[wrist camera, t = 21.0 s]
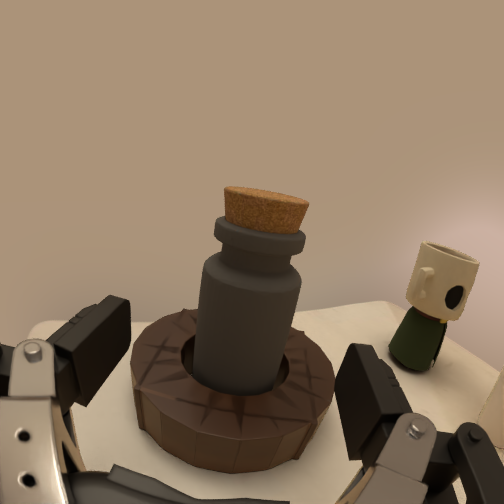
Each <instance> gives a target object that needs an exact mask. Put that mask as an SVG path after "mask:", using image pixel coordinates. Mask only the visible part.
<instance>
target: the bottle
mask: <svg viewBox="0 0 504 504" xmlns="http://www.w3.org/2000/svg"><path fill="white" fill-rule="evenodd" d="M224 197H225V216H223V217H220V218H217V219H216V222H215V229H214V236H215V237H216V239H217V240H219V241H220V242H222V243H223V245H222V251H221V252H218V253H216V254H214V255H212V256H211V257H209V258H208V259H207V260H206V261H205V263H204V267H203V272H202V279H201V287H200V295H199V305H198V314H197V325H196V336H195V347H194V359H193V374H192V377H193V378H194V379H195V380H196V381H197V382H199V383H200V384H201V385H203V386H205V387H208V388H210V389H212V390H214V391H216V392H219V393H224V394H229V395H235V396H254V395H260V394H263V393H266V392H269V391H272V390H273V387H274V383H275V380H276V377H277V374H278V370H279V367H280V364H281V360H282V357H283V353H284V350H285V346H286V343H287V339H288V335H289V332H290V328H291V324H292V320H293V316H294V313H295V308H296V305H297V301H298V296H299V292H300V288H301V277H300V275H299V273H298V272H297V270H296V269H294V267H293V266H292V265H291V264H290V260H291V256H292V255H297V254H299V253H301V252H302V250H303V248H304V244H305V239H306V236H305V234H304V233H303V232H302V231H300V230H299V227H300V225H301V223H302V220H303V218H304V216H305V213H306V211H307V208H308V206H309V202H307V201H305V200H303V199H300V198H297V197H293V196H289V195H285V194H280V193H275V192H270V191H265V190H259V189H252V188H244V187H225V188H224Z"/></svg>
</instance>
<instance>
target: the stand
mask: <svg viewBox="0 0 504 504" xmlns="http://www.w3.org/2000/svg"><path fill="white" fill-rule="evenodd" d="M197 314H198V309H194V310H187V309H183V310H182V311H181V312H178V313H174V314H171V315H167V316H164V317H162V318H161V319H159V320H157V321H156V322H154V323H152V324H151V325H149V326H147V327H146V328H145V329H144V330H143V332H142V333H141V334H140V336H139V337H138V338H137V340H136V341H135V342H134V344H133V350H132V355H131V361H130V367H131V377H132V386H133V394H134V402H135V406H136V411H137V418H138V424H139V428H141V429H144V430H146V431H147V432H148V433H149V434H150V435H151V436H152V437H153V439H154V440H155V441H156V442H157V443H158V444H159V445H160V446H161V447H162V448H163V449H164V450H166V451H167V452H169V453H171V454H173V455H174V456H176V457H178V458H180V459H182V460H184V461H185V462H187V463H189V464H191V465H193V466H196V467H200V468H205V469H209V470H214V471H220V472H225V473H243V472H253V471H261V470H267V469H270V468H272V467H274V466H277V465H279V464H281V463H283V462H285V461H287V460H289V459H299V458H300V456H301V454H302V452H303V451H304V449H305V447H306V445H307V444H308V443H309V442H310V441H311V439H312V438H313V436H314V435H315V433H316V431H317V429H318V427H319V425H320V424H321V422H322V420H323V418H324V416H325V414H326V412H327V410H328V408H329V406H330V404H331V402H332V398H333V394H334V384H335V375H334V371H333V367H332V363H331V362H330V360H329V359H328V358H327V356H326V355H325V353H324V352H323V351H322V349H321V348H320V347H319V346H318V345H317V344H316V343H315V342H313V341H312V340H311V339H310V338H308V337H307V336H306V335H305V333H304V331H298V330H296V329H294V328H292V327H291V328H290V332H289V335H288V339H287V343H286V346H285V350H284V353H283V357H282V360H281V364H280V367H279V370H278V374H277V377H276V380H275V383H274V387H273V390H272V391H269V392H266V393H263V394H260V395H254V396H235V395H229V394H224V393H219V392H216V391H214V390H212V389H210V388H208V387H205V386H203V385H201V384H200V383H199V382H197V381H196V380H195V379H194V378H193V377H191V376H190V374H191V373H193V359H194V347H195V336H196V325H197Z"/></svg>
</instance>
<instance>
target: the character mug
mask: <svg viewBox="0 0 504 504" xmlns="http://www.w3.org/2000/svg"><path fill="white" fill-rule="evenodd" d="M478 267H479V262H478V261H477V260H475V259H474V258H472V257H470V256H468V255H466V254H464V253H462V252H459V251H457V250H454V249H451V248H448V247H446V246H443V245H439V244H436V243H432V242H428V241H423V242H422V243H421V246H420V250H419V254H418V257H417V261H416V264H415V267H414V270H413V273H412V276H411V279H410V282H409V285H408V288H407V293H406V299H407V300H408V302H409V303H410V304H411V305H413V306H412V307H411V308H410V309H409V310H408V312H407V313H406V315H405V317H404V319H403V321H402V322H401V324H400V326H399V328H398V329H397V331H396V333H395V335H394V336H393V338H392V340H391V342H390V344H389V346H388V347H389V349H390V352H391V353H392V354H393V355H394V356H395V357H396V358H397V359H398V360H399V361H400V362H401V363H402V364H404V365H405V366H406V367H408V368H411V369H414V370H423V371H426V370H428V368H429V366H430V364H431V362H432V360H434V363H433V366H434V364H435V361H436V359H437V356H438V354H439V351H440V348H441V345H442V342H443V339H444V336H445V332H446V329H447V321H448V320H452V321H455V320H458V319H459V317H460V316H461V314H462V312H463V310H464V307H465V303H466V301H467V298H468V295H469V293H470V291H471V289H472V286H473V284H474V281H475V277H476V274H477V271H478ZM433 366H432V367H433Z"/></svg>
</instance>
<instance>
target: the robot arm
mask: <svg viewBox="0 0 504 504" xmlns="http://www.w3.org/2000/svg"><path fill="white" fill-rule="evenodd" d="M130 342H131V310H130V302H129V300H127V299H123V298H119V297H116V296H112V295H109V296H107V297H106V298H105V299H104V300H102V301H101V302H100V303H99V304H98V305H97V304H94V305H91V306H89V307H86V308H84V309H82V310H81V311H80V312H79V313H78V314H76V315H75V317H73V318H72V319H70V320H69V322H67V323H65V324H64V325H63V326H62V327H61V328H59V329H58V330H57V331H56V332H55V333H54V334H52V335H51V336H50V337H49V338H48V339H47V340H46V341H45V340H42V339H28V340H25V341H23V342H21V343H19V344H18V345H17V346H16V347H11V346H6V345H3V344H0V504H290V501H274V500H261V499H251V498H236V499H196V498H193V497H191V496H188V495H186V494H184V493H182V492H180V491H178V490H176V489H174V488H172V487H170V486H168V485H166V484H164V483H162V482H160V481H159V480H157V479H155V478H152V477H149V476H146V475H143V474H140V473H137V472H134V471H132V470H129V469H126V468H124V467H121V466H118V465H116V464H114V465H113V467H112V469H111V471H110V473H109V472H101V471H87V470H86V468H85V465H84V463H83V460H82V457H81V454H80V450H79V446H78V441H77V436H76V431H75V426H74V421H73V415H72V410H71V406H72V405H73V403H74V402H76V403H78V404H80V405H82V406H85V407H87V405H88V404H89V403H90V401H91V400H92V398H93V397H94V396H95V394H96V393H97V391H98V390H99V389H100V387H101V386H102V384H103V383H104V382H105V380H106V379H107V378H108V376H109V375H110V374H111V372H112V371H113V369H114V368H115V367H116V365H117V364H118V363H119V361H120V360H121V359H122V357H123V356H124V355H125V353H126V352H127V351H128V349H129V346H130ZM334 392H335V396H336V401H337V405H338V410H339V414H340V419H341V423H342V428H343V433H344V437H345V442H346V447H347V452H348V457H349V461H350V460H362V463H363V466H362V467H361V468H360V469H359V470H358V472H357V473H356V475H355V476H354V478H353V479H352V481H351V482H350V484H349V485H348V486H347V488H346V489H345V491H344V492H343V493H342V495H341V496H340V497H339V499H338V500H337V501H336V503H335V504H459V503H458V500H457V497H456V494H455V491H454V488H453V485H452V483H453V482H454V481H455V480H457V479H458V478H459V477H460V479H461V482H462V485H463V487H464V490H465V493H466V497H467V500H466V504H504V466H503V464H502V462H501V460H500V458H499V456H498V454H497V452H496V450H495V448H494V446H493V444H492V442H491V440H490V438H489V436H488V434H487V433H486V431H485V430H484V429H483V428H482V427H480V426H479V425H477V424H475V423H470V422H466V423H463V424H462V425H460V427H459V428H458V429H457V430H456V432H455V433H454V434H453V433H446V432H440V431H436V428H435V426H434V424H433V423H432V422H431V421H430V420H429V419H428V418H427V417H425V416H423V415H421V414H418V413H413V411H412V409H411V407H410V405H409V403H408V401H407V399H406V397H405V395H404V392H403V390H402V388H401V387H400V384H399V382H398V381H397V379H396V377H395V375H394V373H393V371H392V369H391V367H390V366H389V365H387V364H386V363H385V362H384V361H383V360H382V359H379V358H378V356H377V354H376V352H375V350H374V348H373V347H372V345H366V344H356V343H352V344H350V345H349V347H348V349H347V352H346V354H345V357H344V359H343V361H342V364H341V366H340V369H339V371H338V373H337V376H336V379H335V384H334Z"/></svg>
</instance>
